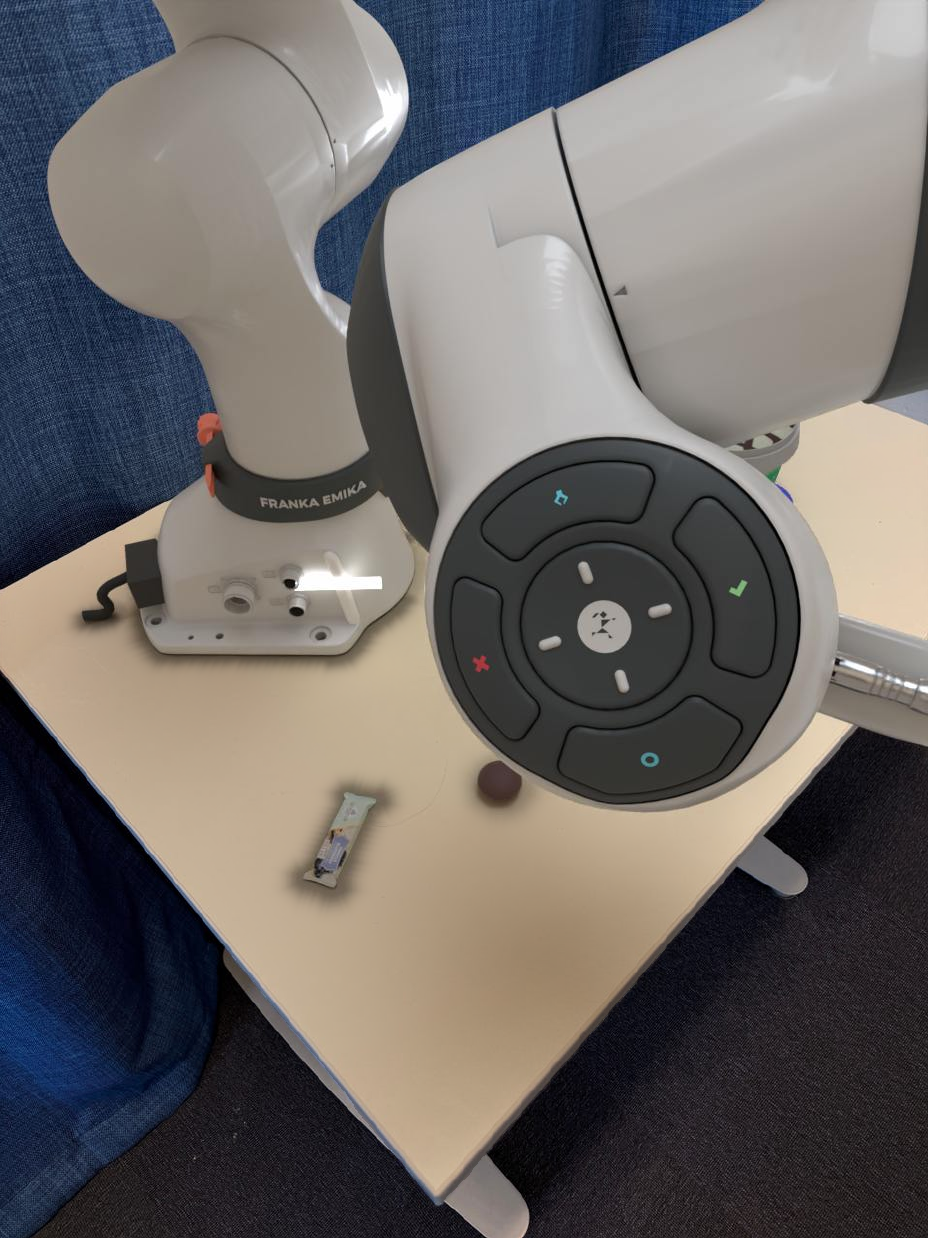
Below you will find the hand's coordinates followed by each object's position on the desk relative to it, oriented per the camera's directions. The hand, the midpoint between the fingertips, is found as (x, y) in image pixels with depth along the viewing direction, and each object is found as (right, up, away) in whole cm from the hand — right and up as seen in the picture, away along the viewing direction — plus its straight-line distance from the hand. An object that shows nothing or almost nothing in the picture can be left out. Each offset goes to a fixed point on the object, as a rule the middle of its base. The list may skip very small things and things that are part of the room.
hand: (716, 617), depth 45 cm
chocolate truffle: (-10, -12, +17) cm, 23 cm away
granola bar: (-21, -15, +15) cm, 29 cm away
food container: (+11, +9, +34) cm, 37 cm away
